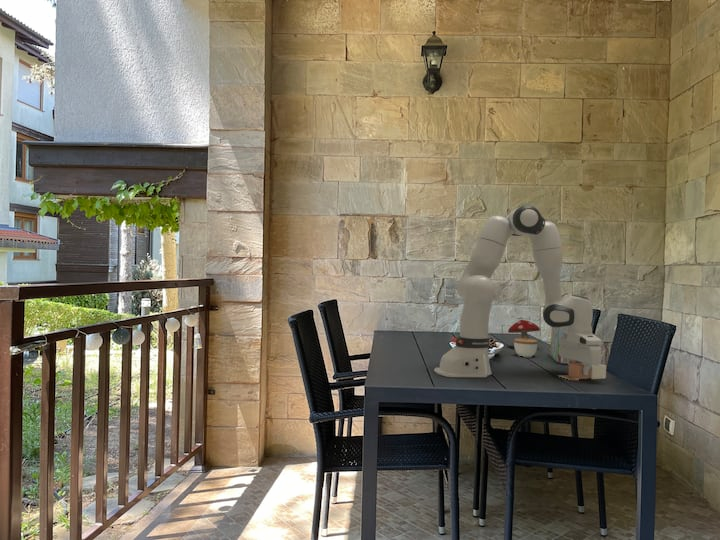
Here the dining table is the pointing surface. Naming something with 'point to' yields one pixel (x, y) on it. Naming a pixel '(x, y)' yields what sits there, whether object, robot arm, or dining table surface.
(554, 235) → the robot arm
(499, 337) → the dining table surface
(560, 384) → the dining table surface
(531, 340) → the lidded jar
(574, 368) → the stub
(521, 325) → the decorative mushroom
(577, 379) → the stub mat
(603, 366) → the block
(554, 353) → the snack box
